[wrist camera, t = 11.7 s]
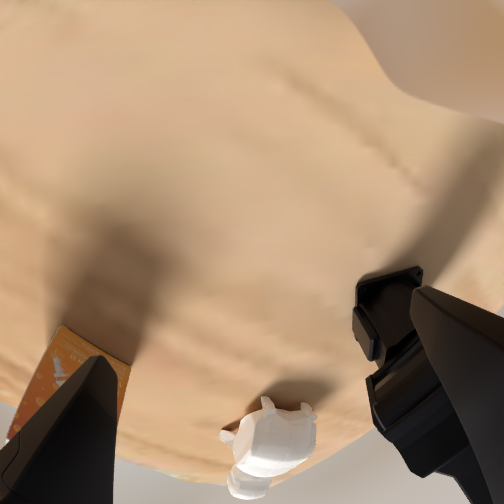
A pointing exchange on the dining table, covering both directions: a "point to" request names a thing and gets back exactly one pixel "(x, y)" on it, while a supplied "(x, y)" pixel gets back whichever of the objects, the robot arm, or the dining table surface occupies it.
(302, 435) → the white animal figurine
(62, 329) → the small box
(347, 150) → the dining table surface
